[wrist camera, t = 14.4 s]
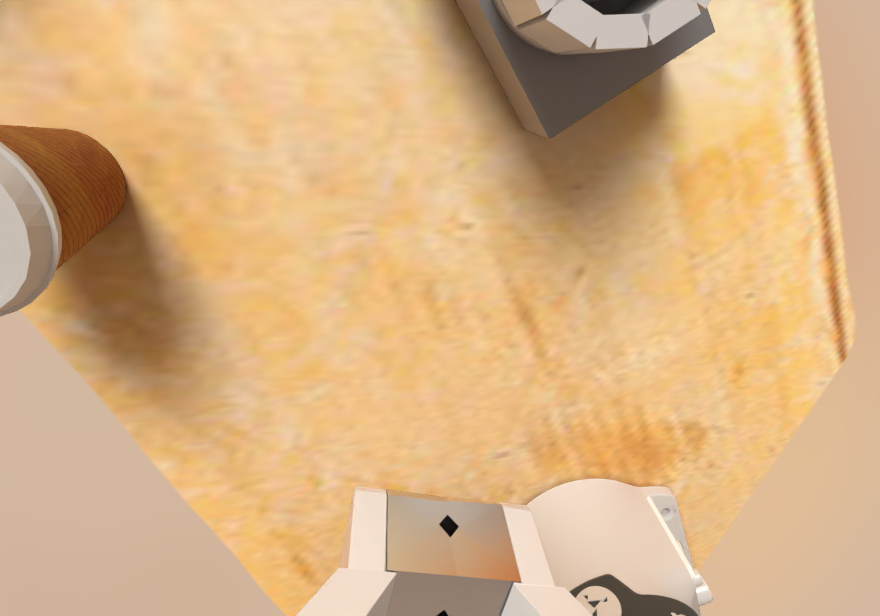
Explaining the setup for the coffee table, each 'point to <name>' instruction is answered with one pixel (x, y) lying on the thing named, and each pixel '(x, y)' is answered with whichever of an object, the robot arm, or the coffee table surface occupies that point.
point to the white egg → (589, 1)
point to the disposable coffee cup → (50, 205)
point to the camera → (578, 50)
